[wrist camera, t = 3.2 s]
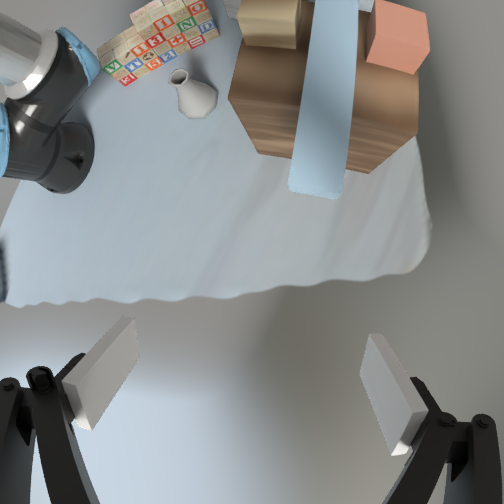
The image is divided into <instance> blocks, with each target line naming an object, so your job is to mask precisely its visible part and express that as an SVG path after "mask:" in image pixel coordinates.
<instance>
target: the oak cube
mask: <svg viewBox="0 0 504 504" xmlns="http://www.w3.org/2000/svg"><path fill="white" fill-rule="evenodd" d="M301 16H302V14H301V0H241V3H240V7H239V10H238V13H237V16H236V17H237V20H238V23H239V26H240V29H241V32H242V35H243V38H244V41H245V44H246V45H250V46H266V47H277V48H287V49H296V47H297V40H298V34H299V28H300V22H301Z"/></svg>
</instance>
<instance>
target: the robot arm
mask: <svg viewBox="0 0 504 504" xmlns="http://www.w3.org/2000/svg"><path fill="white" fill-rule="evenodd" d="M100 69H101V65H100V62H99V60H98V59H97V58H96V57H95V55H94V54H93V53H92V52H91V51H90V50H89V49H88V48H87V47H86V46H85V45H84V44H83V43H82V42H81V41H80V40H79V39H78V38H77V37H76V36H75V35H74V34H73V33H72V32H70V31H69V30H68V29H67V28H65V27H61V28H60V29H58V30H56V31H55V32H54V31H53V30H49V29H44V30H41V31H39V32H35V31H33V30H31V29H30V28H28V27H26V26H25V25H23V24H21V23H20V22H18V21H16V20H15V19H13V18H11V17H10V16H8V15H6V14H4V13H3V12H1V11H0V84H3V85H4V90H5V93H6V95H7V96H8V98H7V99H6V101H5V103H4V104H3V103H0V177H7V178H15V179H22V180H30V181H36V182H37V183H38V184H40V185H41V186H43V187H44V188H46V189H47V190H49V191H50V192H53V193H59V194H67V193H70V192H72V191H74V190H75V189H76V188H78V187H79V186H80V185H81V183H82V182H83V181H84V179H85V178H86V176H87V174H88V172H89V170H90V168H91V165H92V161H93V156H94V142H93V138H92V135H91V133H90V131H89V130H88V129H87V128H86V127H84V126H82V125H80V124H77V123H74V122H68V123H60V122H61V121H62V120H63V118H64V117H65V116H66V114H67V113H68V112H69V111H70V109H71V108H72V107H73V105H74V104H75V103H76V102H77V100H78V99H79V98H80V97H81V95H82V94H83V93H84V92H85V91H86V89H87V88H89V86H90V85H91V83H92V81H93V80H94V79H95V77H96V76H97V75H98V73H99V72H100ZM139 358H140V355H139V348H138V340H137V333H136V324H135V318H134V317H128V316H122V317H121V318H120V319H119V320H118V322H116V324H115V325H114V326H113V327H112V328H111V329H110V330H109V331H108V332H107V333H106V334H105V335H104V336H103V337H102V338H101V339H100V340H99V341H98V342H97V343H96V344H95V346H94V347H93V348H92V349H91V350H90V351H89V352H88V353H87V354H85V353H80V354H79V355H77V356H75V357H74V358H72V359H71V360H70V361H69V363H68V364H67V365H66V366H65V367H64V368H63V369H62V370H61V371H60V372H59V373H58V374H57V375H56V376H55V377H54V376H53V373H52V371H51V370H50V369H49V368H48V367H45V366H38V367H34V368H32V369H30V370H29V371H28V372H27V375H26V378H27V381H28V384H29V386H30V388H24V387H21V386H20V383H19V381H18V380H17V379H15V378H11V377H10V378H4V379H2V380H1V381H0V504H30V487H31V473H32V462H33V454H34V444H35V438H36V436H37V443H38V448H39V454H40V459H41V464H42V469H43V473H44V478H45V482H46V486H47V490H48V494H49V497H50V501H51V504H100V502H99V500H98V498H97V495H96V493H95V491H94V488H93V486H92V483H91V480H90V478H89V475H88V473H87V470H86V467H85V464H84V461H83V458H82V455H81V452H80V449H79V446H78V443H77V440H76V436H75V433H74V429H73V426H72V424H71V422H72V421H73V419H74V418H75V419H76V422H77V424H78V426H79V427H82V428H85V429H88V430H91V431H92V430H93V429H94V427H95V425H96V424H97V422H98V421H99V419H100V418H101V416H102V414H103V413H104V411H105V410H106V408H107V407H108V405H109V404H110V402H111V401H112V399H113V397H114V396H115V394H116V393H117V391H118V390H119V388H120V387H121V385H122V384H123V382H124V381H125V379H126V378H127V376H128V374H129V373H130V372H131V370H132V369H133V367H134V366H135V364H136V363H137V361H138V360H139ZM359 375H360V377H361V380H362V382H363V385H364V387H365V389H366V392H367V395H368V397H369V400H370V402H371V405H372V407H373V410H374V412H375V415H376V418H377V420H378V423H379V426H380V428H381V431H382V433H383V436H384V439H385V441H386V444H387V447H388V450H389V453H390V455H391V456H393V455H400V454H405V453H406V452H407V450H408V449H409V447H410V445H411V447H412V449H413V453H412V454H411V456H410V457H409V459H408V461H407V462H406V464H405V467H404V469H403V471H402V472H401V474H400V476H399V477H398V479H397V481H396V482H395V484H394V486H393V487H392V489H391V491H390V492H389V494H388V495H387V497H386V498H385V500H384V502H383V503H382V504H427V503H428V501H429V498H430V497H431V494H432V492H433V490H434V488H435V486H436V483H437V481H438V478H439V476H440V474H441V471H442V469H443V466H444V464H445V463H448V466H447V478H446V488H445V496H444V503H443V504H502V479H501V478H502V477H501V463H500V454H499V445H498V437H497V431H496V424H495V421H494V420H493V419H492V418H491V417H490V416H488V415H485V414H477V415H475V416H474V417H473V419H472V421H471V422H457V420H456V418H455V417H454V416H453V415H451V414H449V413H446V412H442V411H441V409H440V408H439V406H438V405H437V403H436V401H435V400H434V398H433V397H432V395H431V394H430V392H429V390H427V387H426V386H425V384H424V383H423V382H422V381H421V380H419V379H418V378H417V377H410V378H409V376H408V375H407V373H406V372H405V370H404V368H403V367H402V365H401V364H400V362H399V360H398V359H397V357H396V356H395V354H394V353H393V351H392V349H391V348H390V346H389V345H388V343H387V342H386V340H385V338H384V337H383V336H382V334H369V337H368V342H367V345H366V349H365V353H364V357H363V361H362V365H361V368H360V372H359Z"/></svg>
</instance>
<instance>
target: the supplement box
mask: <svg viewBox="0 0 504 504" xmlns="http://www.w3.org/2000/svg"><path fill="white" fill-rule="evenodd" d="M222 1H223V4H224V6H225V9H226V11H227V14H228V16H229V17H231V18H233V19H236V20H237V17H236V16H237V13H238V10H239V7H240V3H241V0H222Z"/></svg>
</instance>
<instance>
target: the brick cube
mask: <svg viewBox="0 0 504 504" xmlns="http://www.w3.org/2000/svg"><path fill="white" fill-rule="evenodd" d="M429 52H430V45H429V36H428V29H427V21H426V14H425V13H422V12H419V11H417V10H414V9H410V8H407V7H404V6H401V5H398V4H394V3H391V2H387V1H383V0H375V1H374V4H373V8H372V11H371V15H370V18H369V21H368V25H367V47H366V62H369V63H373V64H377V65H381V66H385V67H389V68H392V69H396V70H399V71H403V72H406V73H409V74H412V75H414V73H415V72H416V70H417V69H418V67H419V66H420V65H421V63H422V62H423V60H424V59H425V57H426V56H427V55H428V53H429Z"/></svg>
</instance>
